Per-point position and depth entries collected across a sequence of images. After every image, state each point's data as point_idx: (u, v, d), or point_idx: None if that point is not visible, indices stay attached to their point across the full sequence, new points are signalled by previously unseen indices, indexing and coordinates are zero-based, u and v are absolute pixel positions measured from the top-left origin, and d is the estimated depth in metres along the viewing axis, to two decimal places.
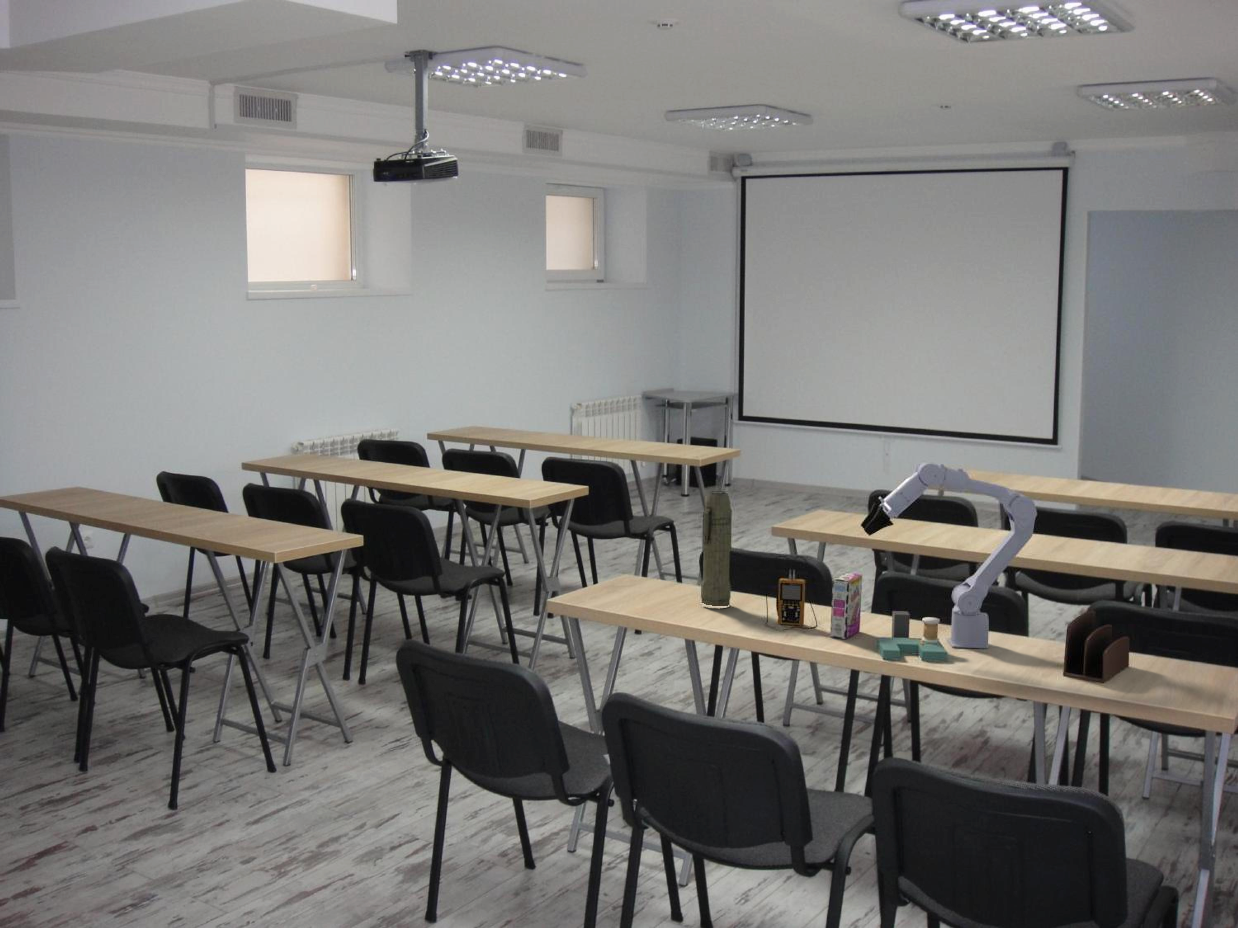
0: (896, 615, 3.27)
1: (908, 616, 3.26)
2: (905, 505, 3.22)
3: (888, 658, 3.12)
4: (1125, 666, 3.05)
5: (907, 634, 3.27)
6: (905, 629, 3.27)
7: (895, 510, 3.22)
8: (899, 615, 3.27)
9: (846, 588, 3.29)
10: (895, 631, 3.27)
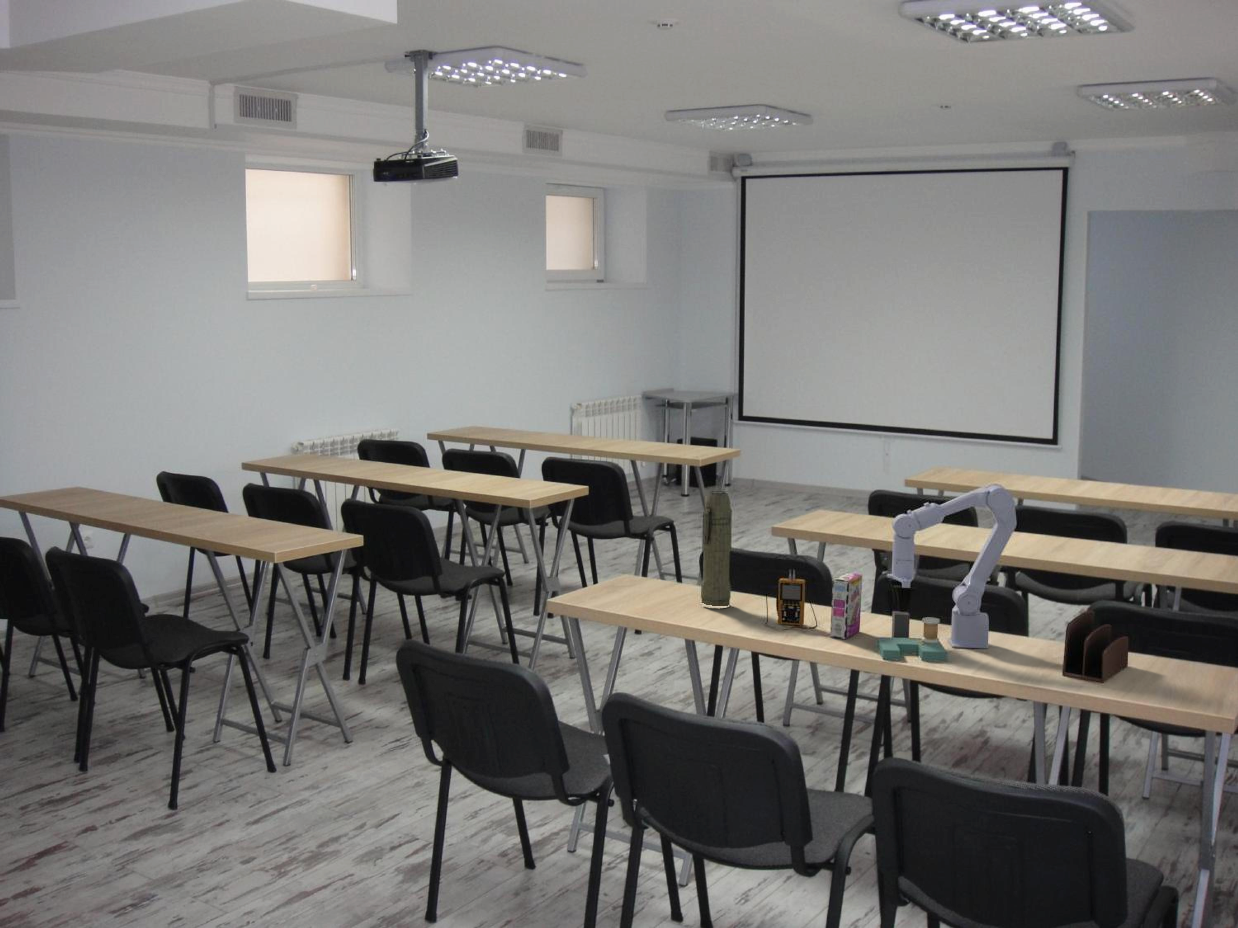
0: (896, 615, 3.27)
1: (908, 616, 3.26)
2: (910, 564, 3.25)
3: (888, 658, 3.12)
4: (1124, 666, 3.05)
5: (907, 634, 3.27)
6: (905, 629, 3.27)
7: (907, 575, 3.25)
8: (899, 615, 3.27)
9: (846, 588, 3.29)
10: (895, 631, 3.27)
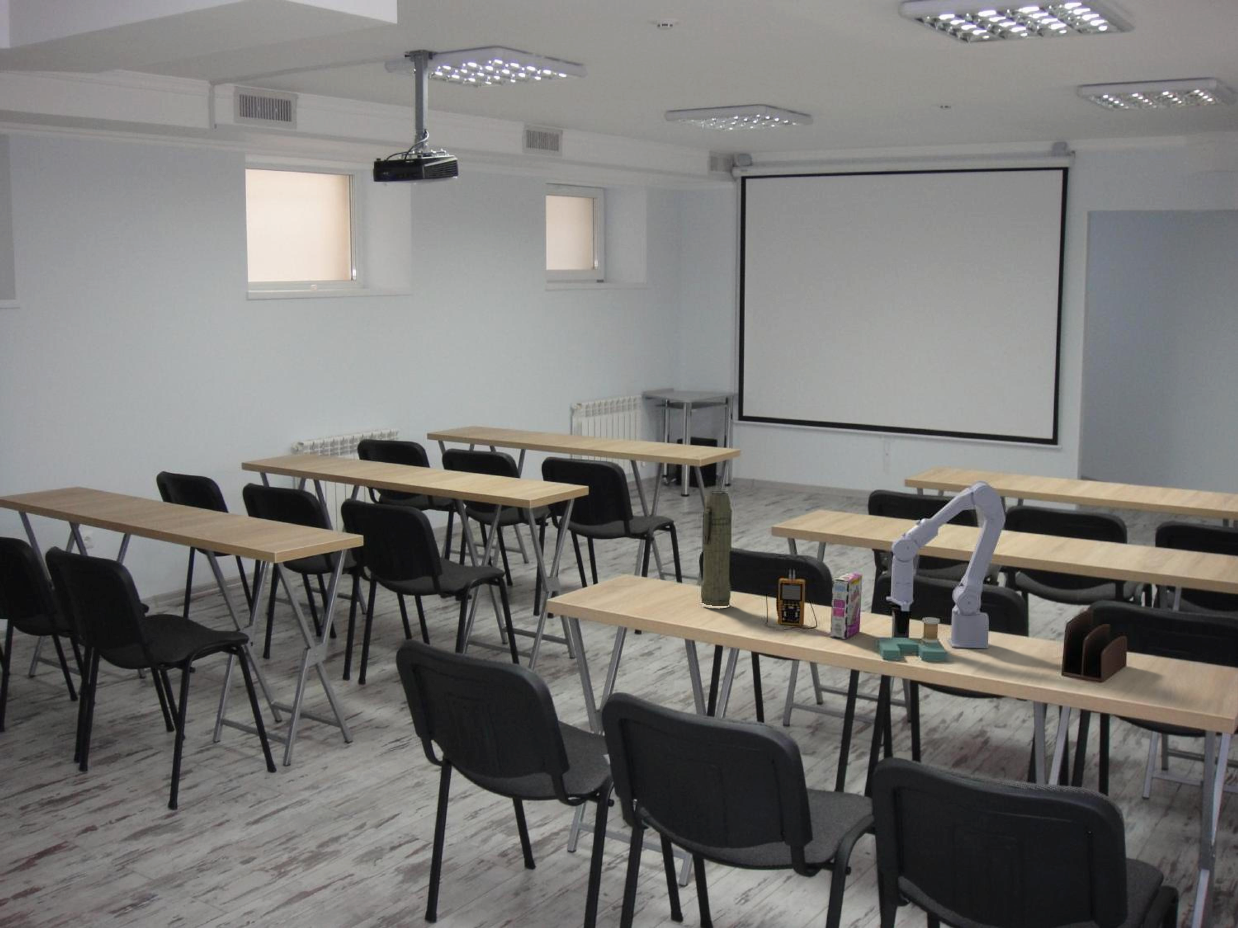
0: None
1: None
2: (910, 587, 3.25)
3: (888, 658, 3.12)
4: (1123, 666, 3.06)
5: (907, 634, 3.27)
6: None
7: (906, 598, 3.25)
8: None
9: (846, 588, 3.29)
10: (895, 631, 3.27)
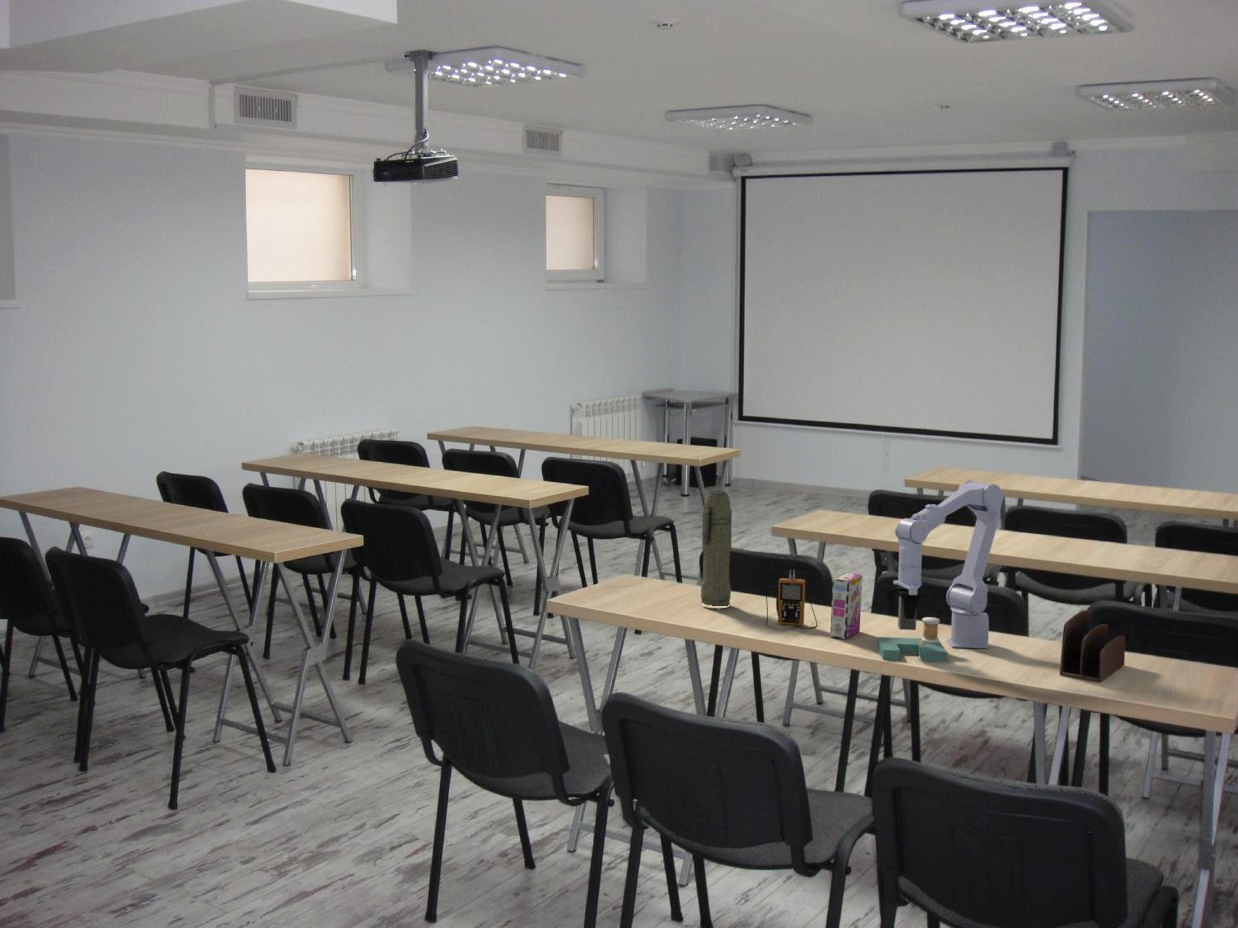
0: None
1: None
2: (918, 570, 3.13)
3: (888, 658, 3.12)
4: (1121, 665, 3.06)
5: (914, 620, 3.14)
6: None
7: (914, 582, 3.12)
8: None
9: (846, 588, 3.29)
10: (902, 616, 3.14)
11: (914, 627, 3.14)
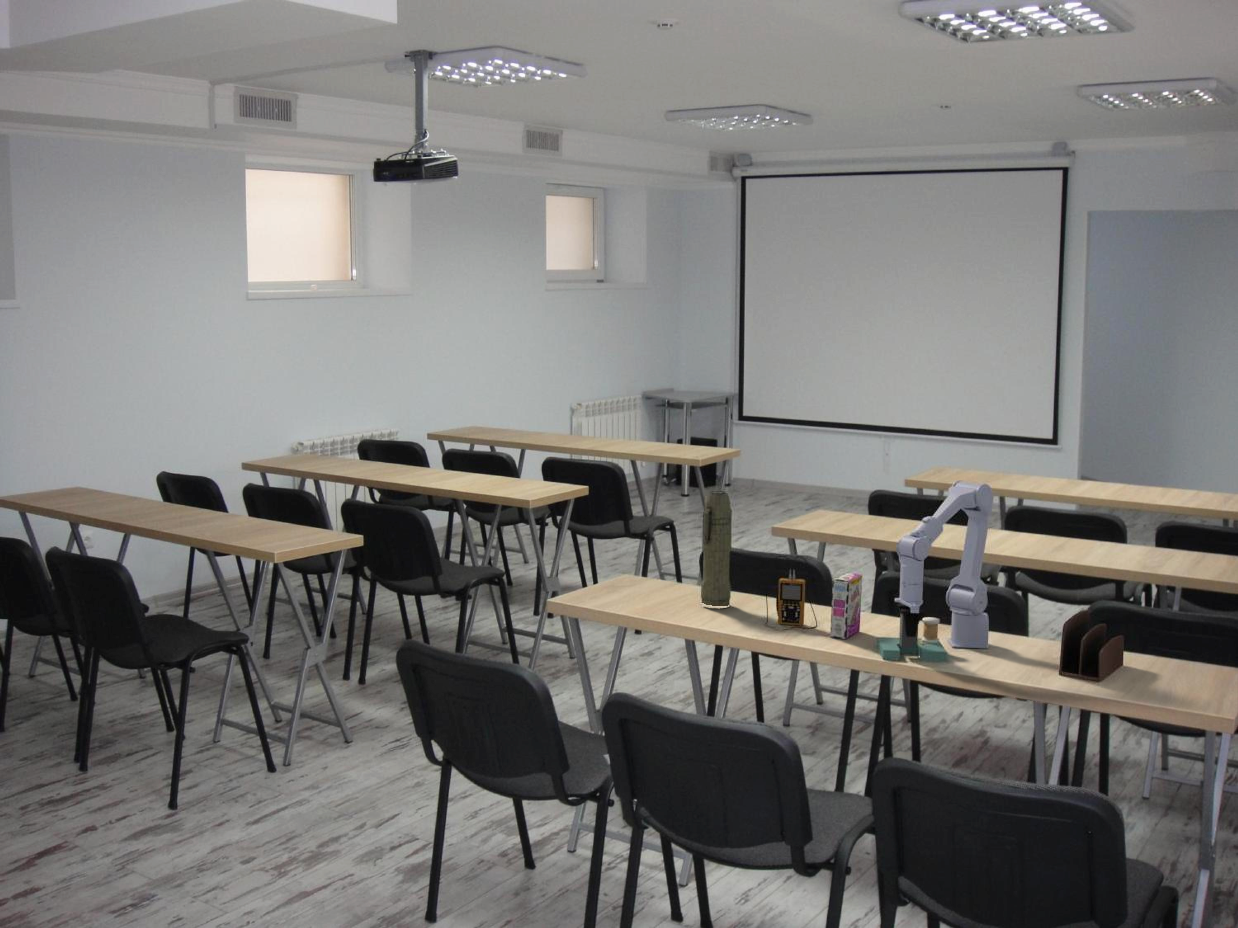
0: None
1: None
2: (919, 588, 3.10)
3: (888, 658, 3.12)
4: (1120, 665, 3.06)
5: (916, 637, 3.12)
6: None
7: (916, 600, 3.10)
8: None
9: (846, 588, 3.29)
10: (903, 634, 3.12)
11: (916, 645, 3.12)
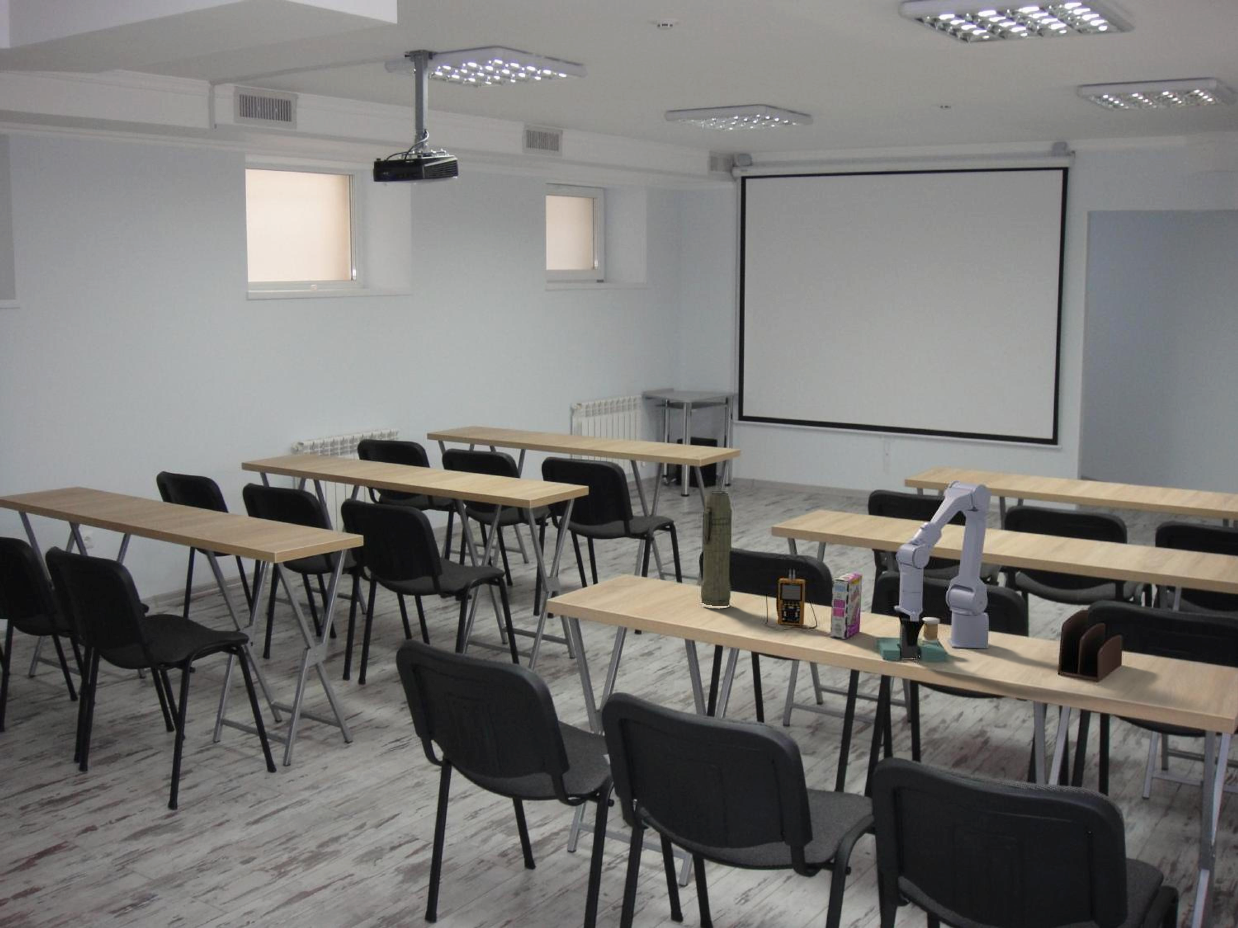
0: (904, 629, 3.12)
1: None
2: (919, 596, 3.10)
3: (888, 658, 3.12)
4: (1118, 665, 3.07)
5: (915, 649, 3.12)
6: None
7: (915, 608, 3.10)
8: None
9: (846, 588, 3.29)
10: (903, 646, 3.12)
11: (915, 656, 3.12)
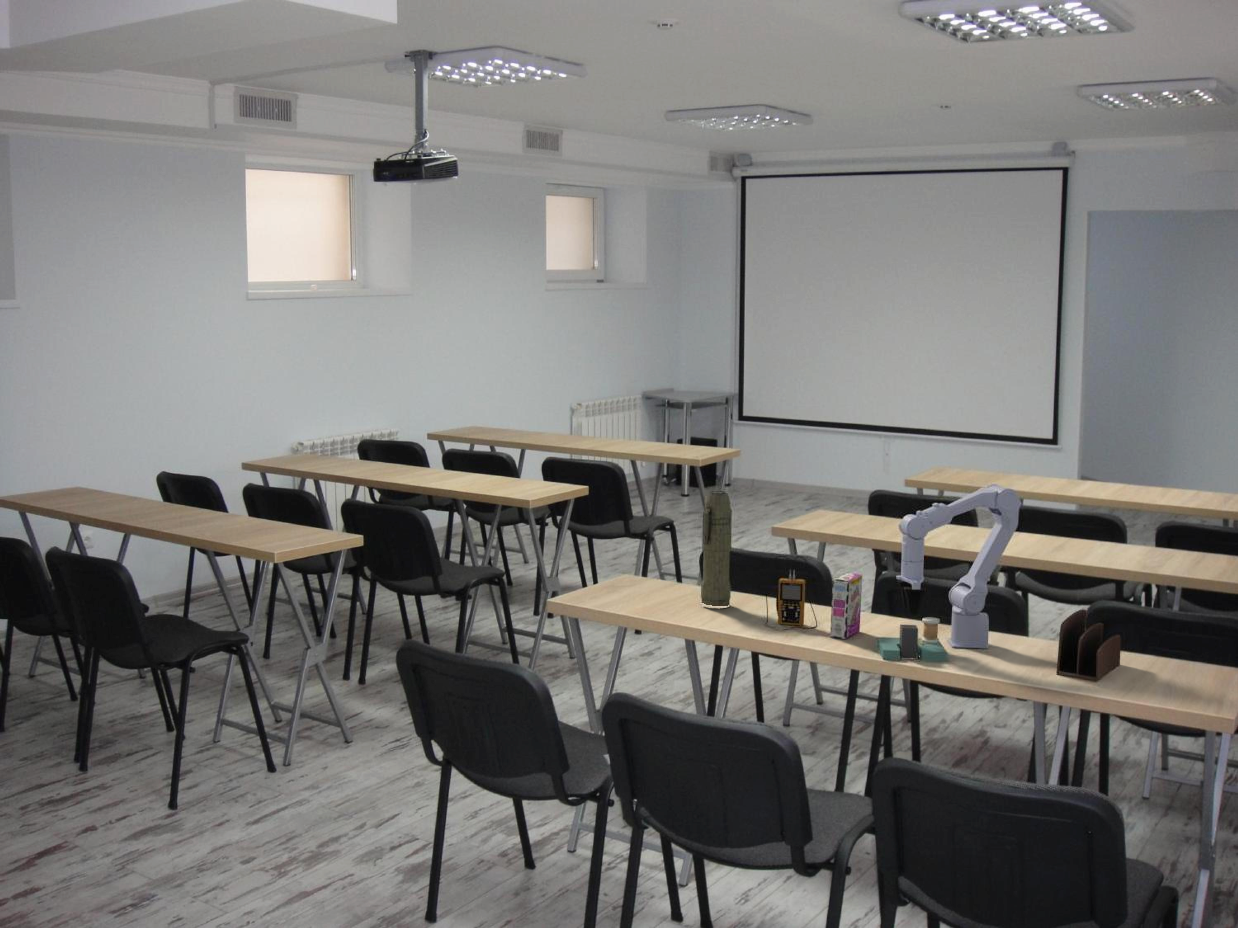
0: (904, 629, 3.12)
1: (916, 630, 3.12)
2: (920, 565, 3.20)
3: (888, 658, 3.12)
4: (1117, 664, 3.07)
5: (915, 649, 3.12)
6: (913, 643, 3.12)
7: (917, 577, 3.20)
8: (907, 629, 3.12)
9: (846, 588, 3.29)
10: (903, 646, 3.12)
11: (915, 656, 3.12)
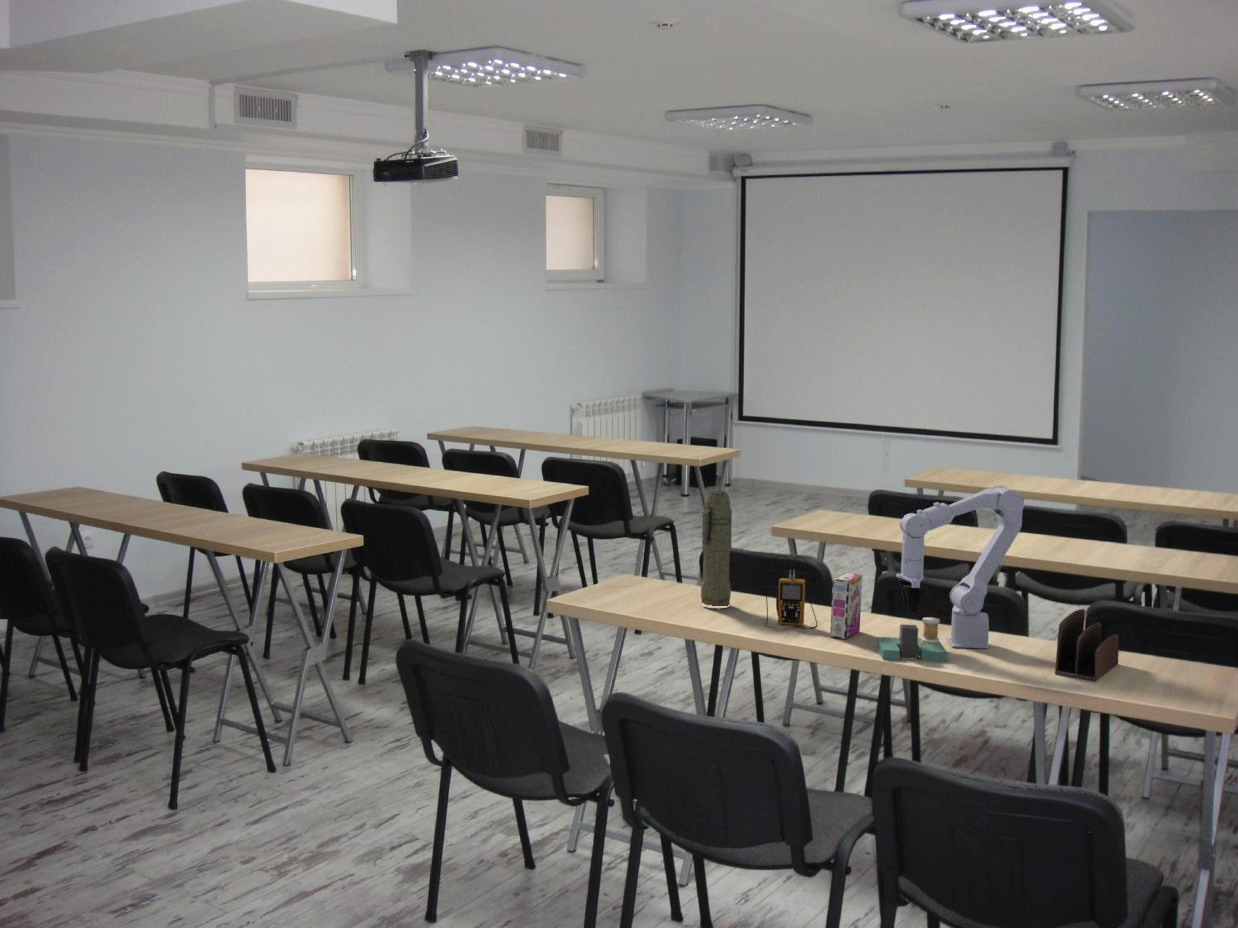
0: (904, 629, 3.12)
1: (916, 630, 3.12)
2: (920, 564, 3.21)
3: (888, 658, 3.12)
4: (1115, 664, 3.07)
5: (915, 649, 3.12)
6: (913, 643, 3.12)
7: (917, 575, 3.21)
8: (907, 629, 3.12)
9: (846, 588, 3.29)
10: (903, 646, 3.12)
11: (915, 656, 3.12)
